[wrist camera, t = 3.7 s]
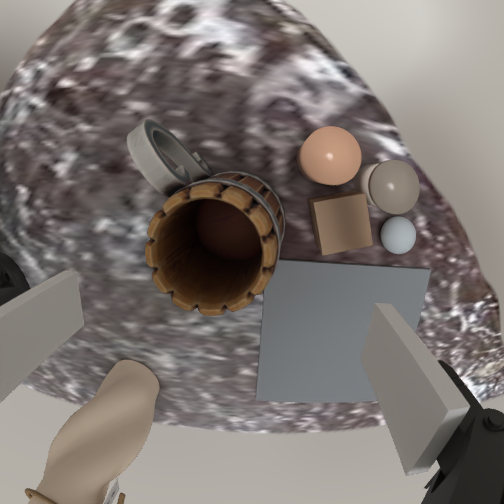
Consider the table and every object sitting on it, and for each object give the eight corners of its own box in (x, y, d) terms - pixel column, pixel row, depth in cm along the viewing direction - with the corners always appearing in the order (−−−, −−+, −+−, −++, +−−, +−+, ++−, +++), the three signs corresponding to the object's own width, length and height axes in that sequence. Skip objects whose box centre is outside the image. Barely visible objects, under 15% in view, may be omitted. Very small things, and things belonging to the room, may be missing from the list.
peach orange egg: (295, 181, 31) (301, 182, 24) (297, 134, 30) (304, 123, 23) (341, 185, 31) (359, 188, 24) (344, 139, 29) (362, 130, 23)
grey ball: (373, 247, 32) (385, 256, 28) (377, 212, 31) (391, 217, 27) (404, 250, 32) (418, 259, 28) (408, 216, 31) (424, 221, 27)
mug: (303, 236, 32) (326, 285, 18) (221, 283, 34) (187, 356, 20) (226, 114, 30) (189, 67, 15) (148, 168, 32) (66, 167, 17)
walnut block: (315, 243, 33) (322, 255, 28) (307, 198, 31) (313, 202, 27) (358, 235, 32) (372, 245, 27) (351, 190, 31) (365, 193, 26)
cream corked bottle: (167, 360, 38) (74, 538, 11) (176, 407, 40) (114, 566, 13) (103, 351, 38) (-9, 487, 11) (117, 396, 40) (35, 528, 13)
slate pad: (255, 397, 38) (255, 400, 38) (266, 257, 33) (266, 259, 33) (391, 397, 37) (392, 399, 36) (428, 268, 32) (430, 269, 32)
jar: (349, 203, 31) (369, 211, 24) (352, 159, 30) (373, 156, 23) (389, 208, 31) (416, 216, 24) (393, 165, 30) (421, 164, 23)
